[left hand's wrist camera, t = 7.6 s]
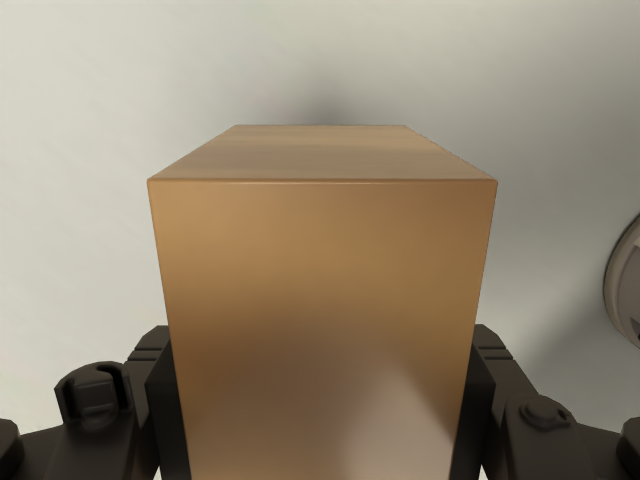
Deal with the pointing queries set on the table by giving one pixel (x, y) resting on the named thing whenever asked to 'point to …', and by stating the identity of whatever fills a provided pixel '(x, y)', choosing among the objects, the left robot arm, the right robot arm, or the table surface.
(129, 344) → the table surface
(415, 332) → the bar
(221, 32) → the table surface
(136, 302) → the table surface
